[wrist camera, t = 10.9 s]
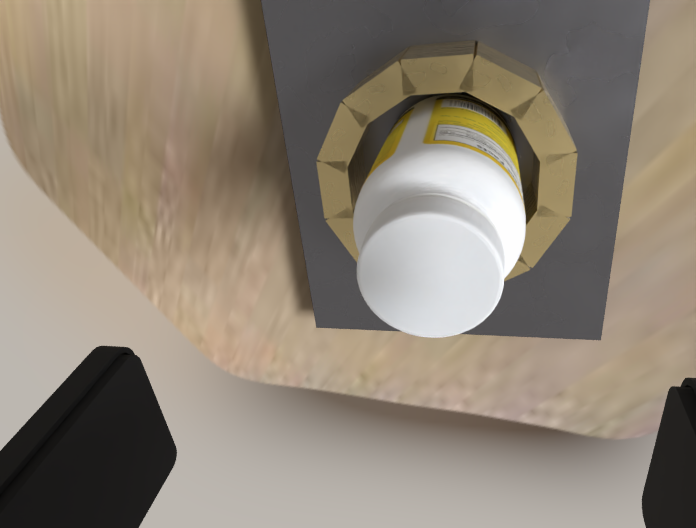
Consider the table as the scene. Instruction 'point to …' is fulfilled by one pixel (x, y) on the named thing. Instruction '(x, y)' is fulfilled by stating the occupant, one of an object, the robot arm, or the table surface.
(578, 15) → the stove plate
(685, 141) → the table surface
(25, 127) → the table surface
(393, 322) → the supplement bottle
